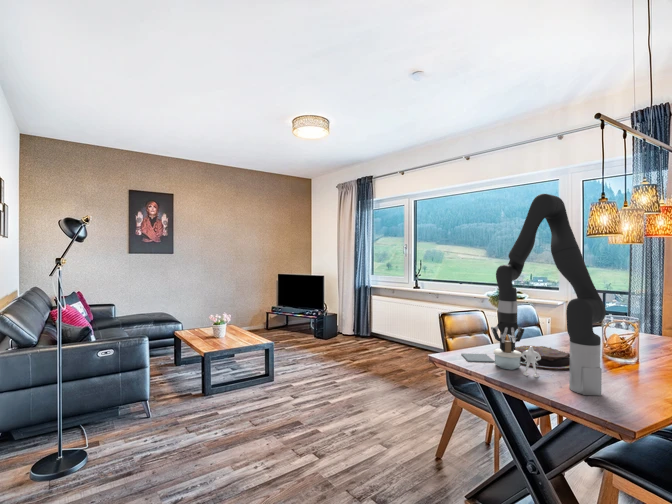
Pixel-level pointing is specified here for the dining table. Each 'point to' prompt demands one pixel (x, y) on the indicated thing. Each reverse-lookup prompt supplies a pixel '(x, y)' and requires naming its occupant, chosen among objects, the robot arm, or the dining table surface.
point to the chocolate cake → (547, 358)
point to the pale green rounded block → (507, 362)
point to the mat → (477, 357)
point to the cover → (507, 351)
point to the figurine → (531, 360)
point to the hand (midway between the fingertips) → (507, 350)
